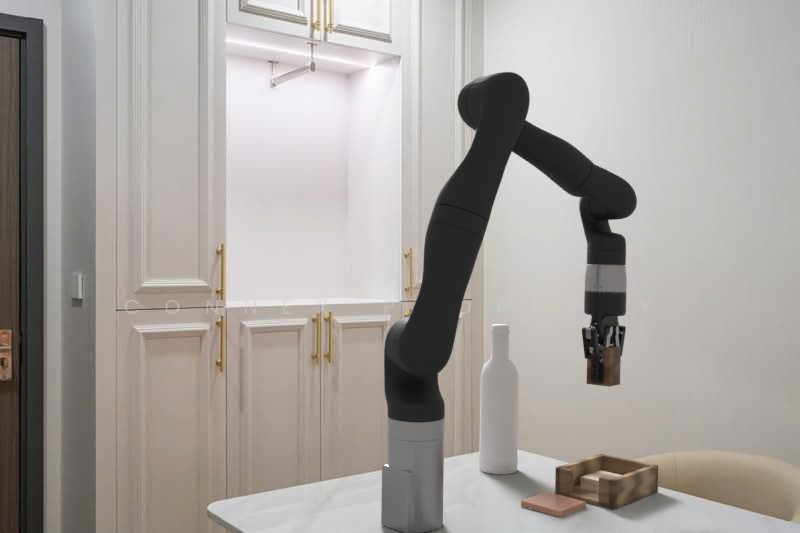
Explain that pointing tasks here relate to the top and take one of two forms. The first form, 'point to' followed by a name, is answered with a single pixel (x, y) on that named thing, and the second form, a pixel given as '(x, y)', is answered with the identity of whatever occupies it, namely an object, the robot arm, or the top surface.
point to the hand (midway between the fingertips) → (603, 381)
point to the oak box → (607, 480)
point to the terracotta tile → (553, 504)
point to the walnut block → (608, 367)
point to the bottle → (499, 407)
